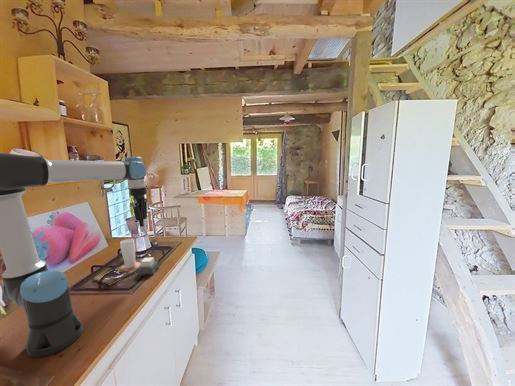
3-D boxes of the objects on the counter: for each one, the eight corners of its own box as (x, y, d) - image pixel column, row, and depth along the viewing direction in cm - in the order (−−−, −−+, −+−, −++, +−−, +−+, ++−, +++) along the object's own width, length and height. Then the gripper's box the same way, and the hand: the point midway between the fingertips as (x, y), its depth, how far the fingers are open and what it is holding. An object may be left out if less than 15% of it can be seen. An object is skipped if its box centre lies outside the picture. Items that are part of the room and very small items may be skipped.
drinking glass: (127, 270, 130) (123, 244, 128) (121, 267, 134) (117, 241, 132) (139, 265, 136) (136, 240, 133) (133, 262, 140) (130, 238, 137)
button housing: (153, 274, 127) (152, 267, 126) (138, 275, 127) (137, 268, 126) (159, 267, 135) (158, 260, 134) (144, 268, 135) (143, 261, 134)
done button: (151, 269, 128) (150, 261, 127) (141, 269, 128) (140, 261, 127) (154, 264, 133) (153, 257, 132) (145, 265, 133) (144, 257, 132)
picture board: (109, 285, 118) (108, 283, 118) (94, 280, 125) (94, 277, 124) (148, 266, 137) (147, 264, 137) (133, 262, 144) (133, 260, 143)
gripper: (139, 188, 117) (145, 235, 121) (150, 185, 130) (155, 227, 134) (123, 189, 117) (130, 236, 121) (136, 185, 130) (142, 228, 134)
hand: (143, 231), depth 127 cm, fingers closed
